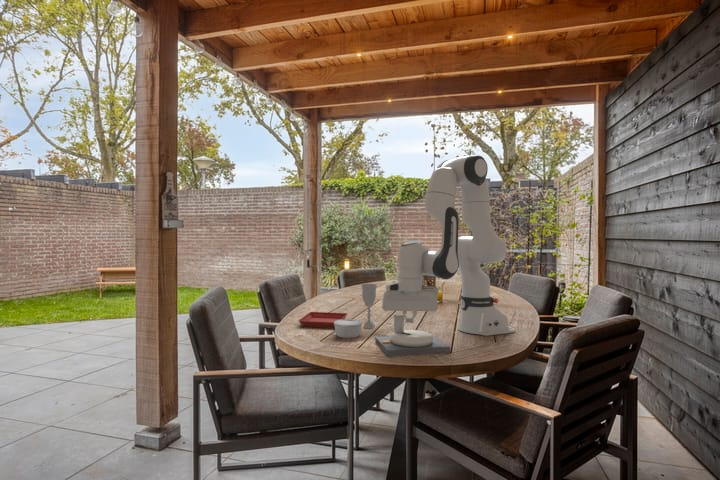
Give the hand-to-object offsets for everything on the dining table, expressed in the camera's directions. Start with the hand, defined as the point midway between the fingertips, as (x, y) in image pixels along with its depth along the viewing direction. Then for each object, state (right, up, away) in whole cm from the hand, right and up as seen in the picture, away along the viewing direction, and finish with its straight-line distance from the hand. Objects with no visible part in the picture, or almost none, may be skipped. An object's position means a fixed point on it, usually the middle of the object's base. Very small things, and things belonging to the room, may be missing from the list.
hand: (409, 322), depth 151 cm
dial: (0, -5, -5) cm, 7 cm away
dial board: (0, -8, -5) cm, 9 cm away
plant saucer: (-34, -7, +32) cm, 47 cm away
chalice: (-14, -7, +25) cm, 29 cm away
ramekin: (-23, -7, +12) cm, 27 cm away
